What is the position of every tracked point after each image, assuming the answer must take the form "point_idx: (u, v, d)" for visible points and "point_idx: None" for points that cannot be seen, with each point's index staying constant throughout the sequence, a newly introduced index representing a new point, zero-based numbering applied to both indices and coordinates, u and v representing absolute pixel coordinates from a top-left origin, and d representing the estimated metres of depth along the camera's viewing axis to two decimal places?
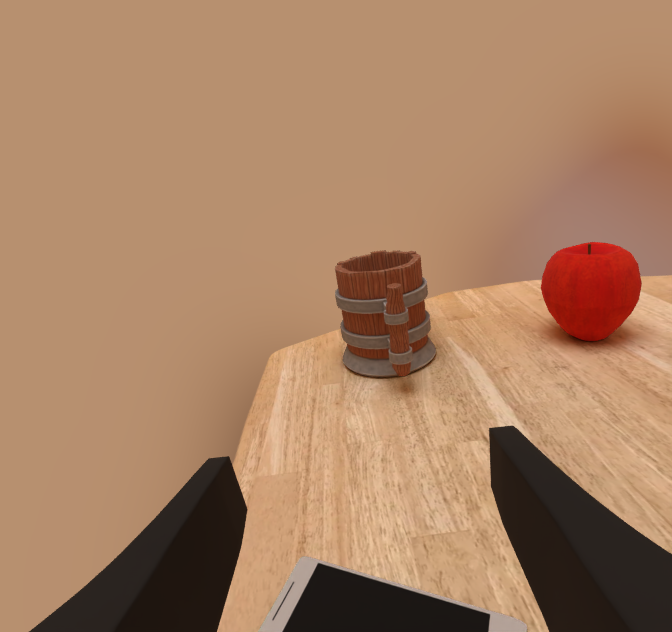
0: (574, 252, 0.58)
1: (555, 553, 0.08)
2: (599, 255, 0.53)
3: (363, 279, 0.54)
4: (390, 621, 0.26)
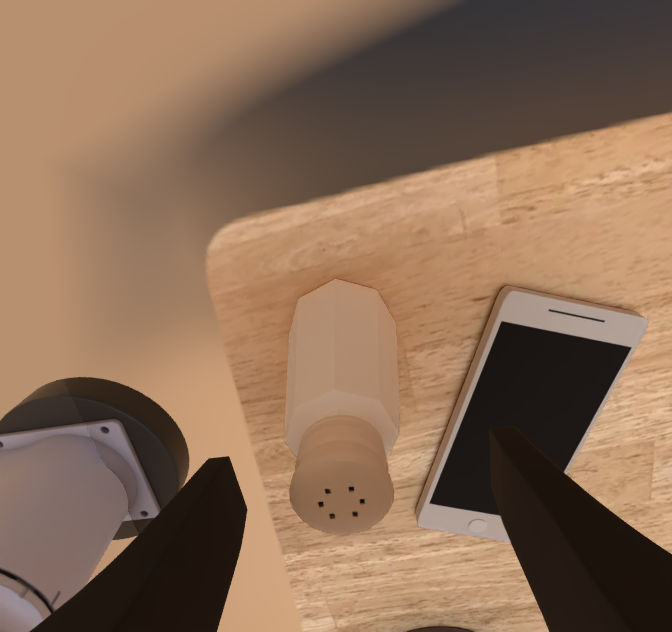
0: None
1: (556, 553, 0.08)
2: None
3: None
4: (536, 440, 0.22)
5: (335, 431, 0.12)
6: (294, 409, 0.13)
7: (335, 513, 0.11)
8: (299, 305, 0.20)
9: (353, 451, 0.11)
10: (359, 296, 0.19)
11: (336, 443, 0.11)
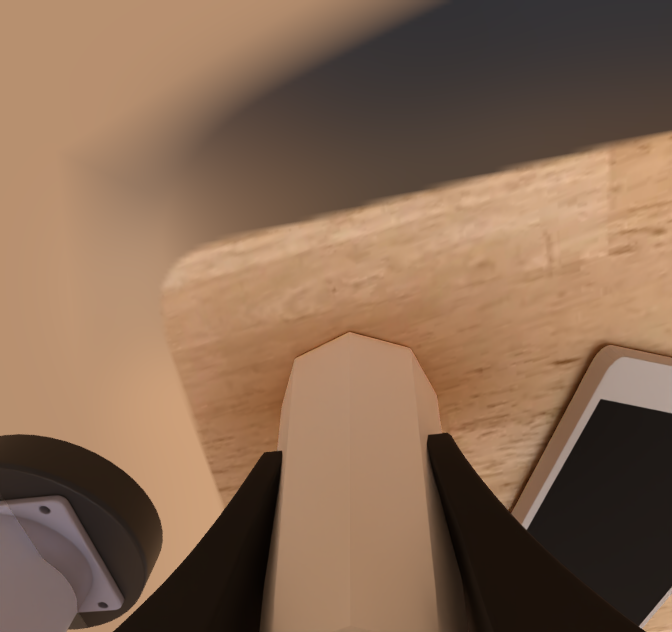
0: None
1: (463, 560, 0.08)
2: None
3: None
4: (632, 554, 0.16)
5: None
6: None
7: None
8: (295, 373, 0.13)
9: None
10: (385, 365, 0.12)
11: None
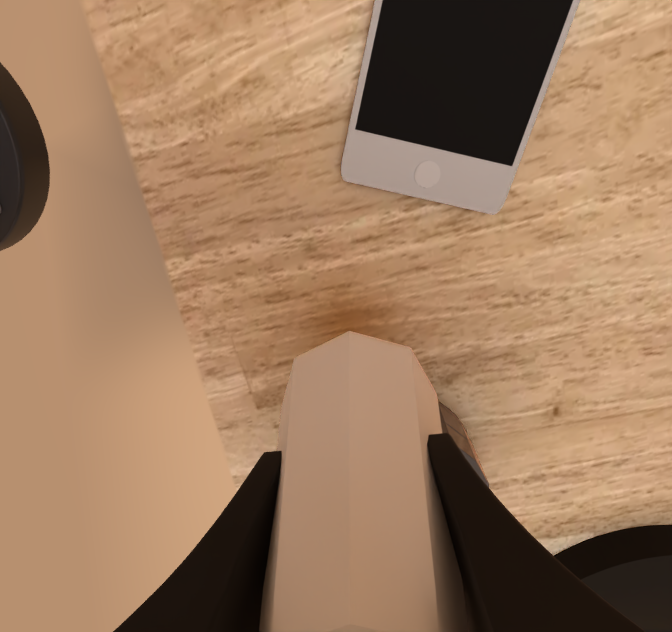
0: None
1: (463, 560, 0.08)
2: None
3: None
4: None
5: None
6: None
7: None
8: (295, 372, 0.13)
9: None
10: (385, 363, 0.12)
11: None
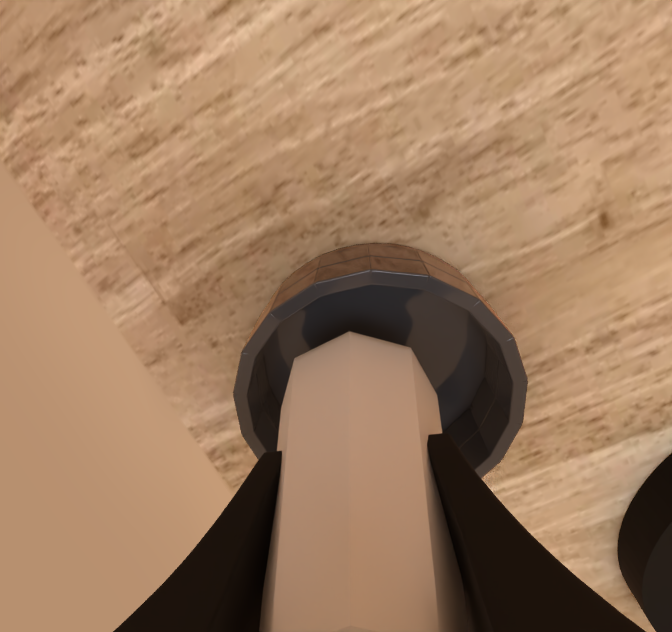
0: None
1: (463, 560, 0.08)
2: None
3: None
4: None
5: None
6: None
7: None
8: (295, 372, 0.13)
9: None
10: (385, 364, 0.12)
11: None
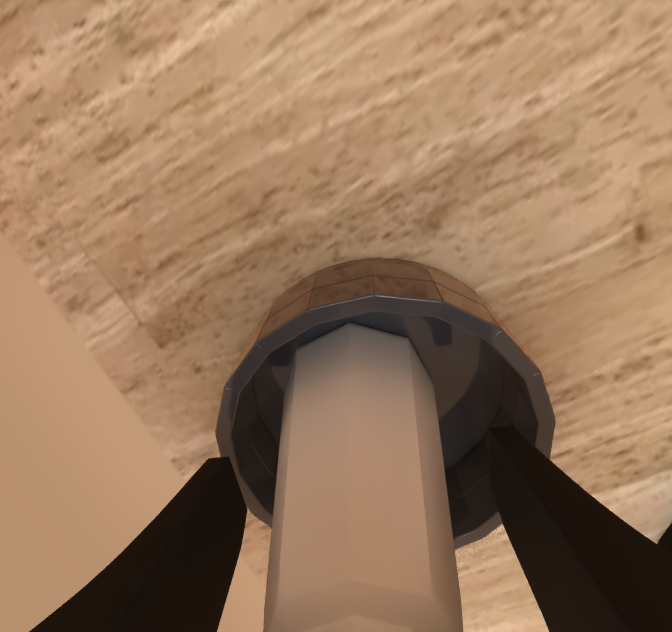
0: None
1: (555, 553, 0.08)
2: None
3: None
4: None
5: None
6: (277, 604, 0.07)
7: None
8: (297, 361, 0.14)
9: None
10: (383, 353, 0.13)
11: None
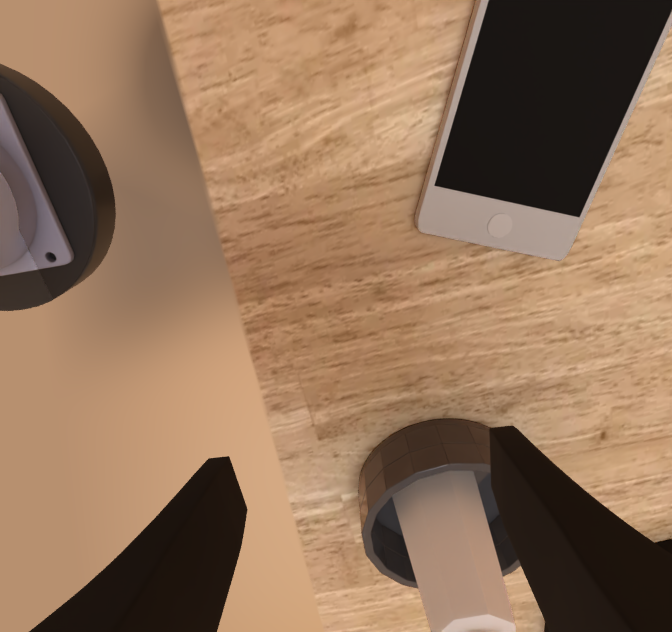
0: None
1: (555, 553, 0.08)
2: None
3: None
4: (588, 57, 0.16)
5: None
6: (452, 619, 0.17)
7: None
8: None
9: None
10: (464, 478, 0.23)
11: None
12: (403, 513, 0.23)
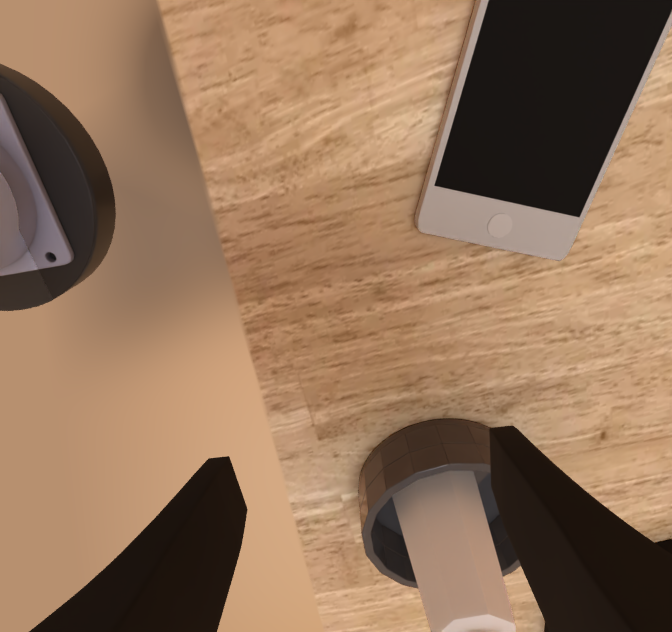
0: None
1: (555, 553, 0.08)
2: None
3: None
4: (588, 57, 0.16)
5: None
6: (452, 619, 0.17)
7: None
8: None
9: None
10: (464, 478, 0.23)
11: None
12: (403, 513, 0.23)
